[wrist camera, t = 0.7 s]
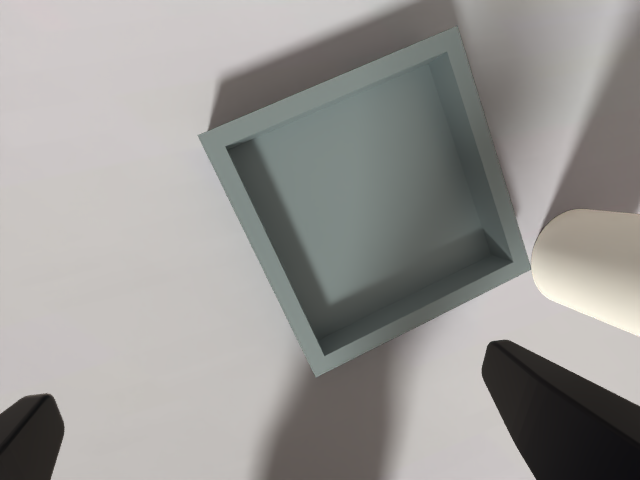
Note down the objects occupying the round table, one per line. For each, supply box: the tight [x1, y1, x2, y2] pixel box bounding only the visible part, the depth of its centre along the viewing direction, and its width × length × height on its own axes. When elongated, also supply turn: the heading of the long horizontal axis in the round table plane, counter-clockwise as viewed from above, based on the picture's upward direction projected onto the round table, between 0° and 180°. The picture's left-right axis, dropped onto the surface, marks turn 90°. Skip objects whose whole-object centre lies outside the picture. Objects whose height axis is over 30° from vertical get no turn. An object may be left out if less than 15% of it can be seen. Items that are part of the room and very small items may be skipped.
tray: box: [198, 26, 531, 377], centre depth 22 cm, size 15×15×3 cm
